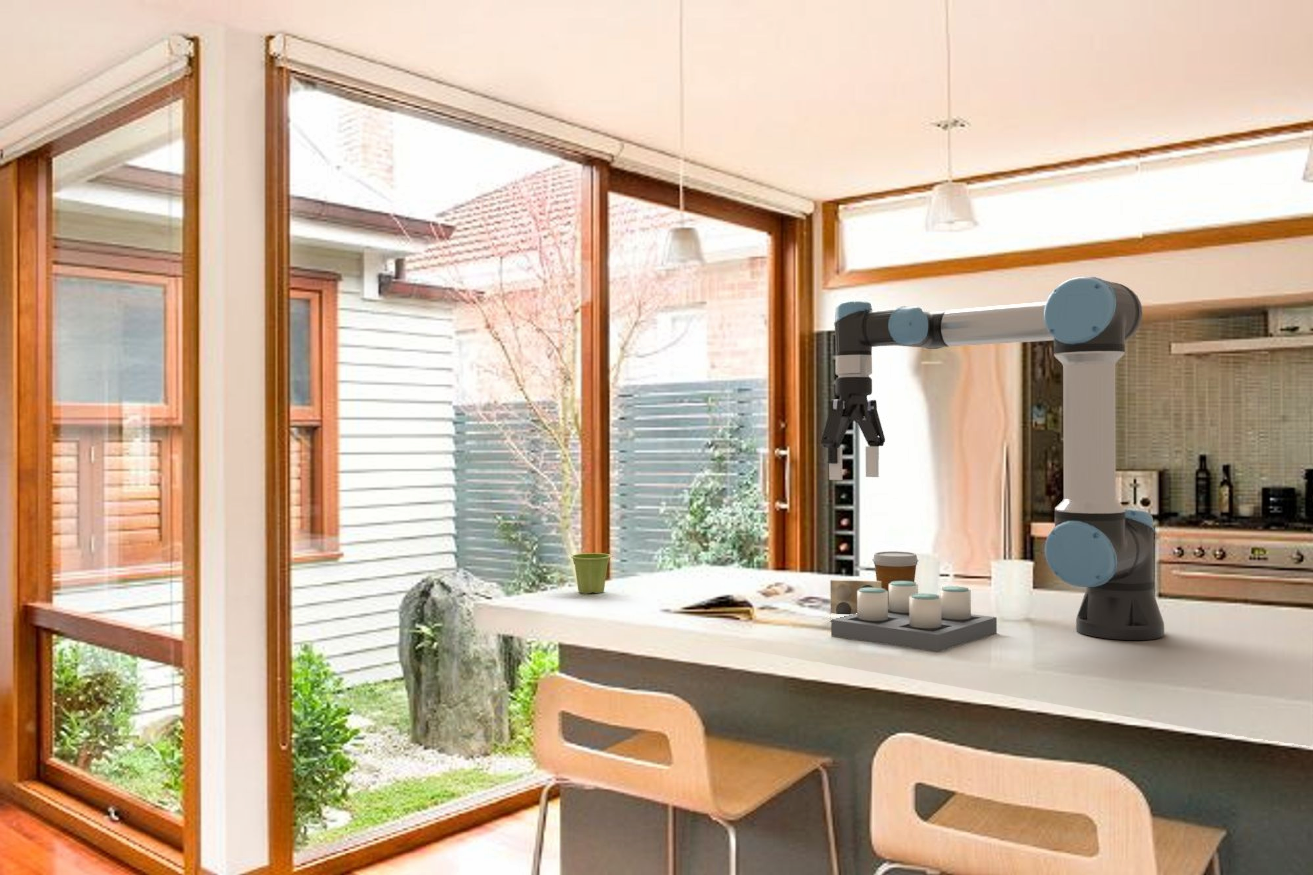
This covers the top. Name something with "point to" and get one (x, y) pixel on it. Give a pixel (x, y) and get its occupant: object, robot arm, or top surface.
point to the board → (914, 631)
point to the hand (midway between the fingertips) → (854, 478)
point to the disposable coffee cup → (894, 567)
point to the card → (847, 594)
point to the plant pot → (591, 571)
